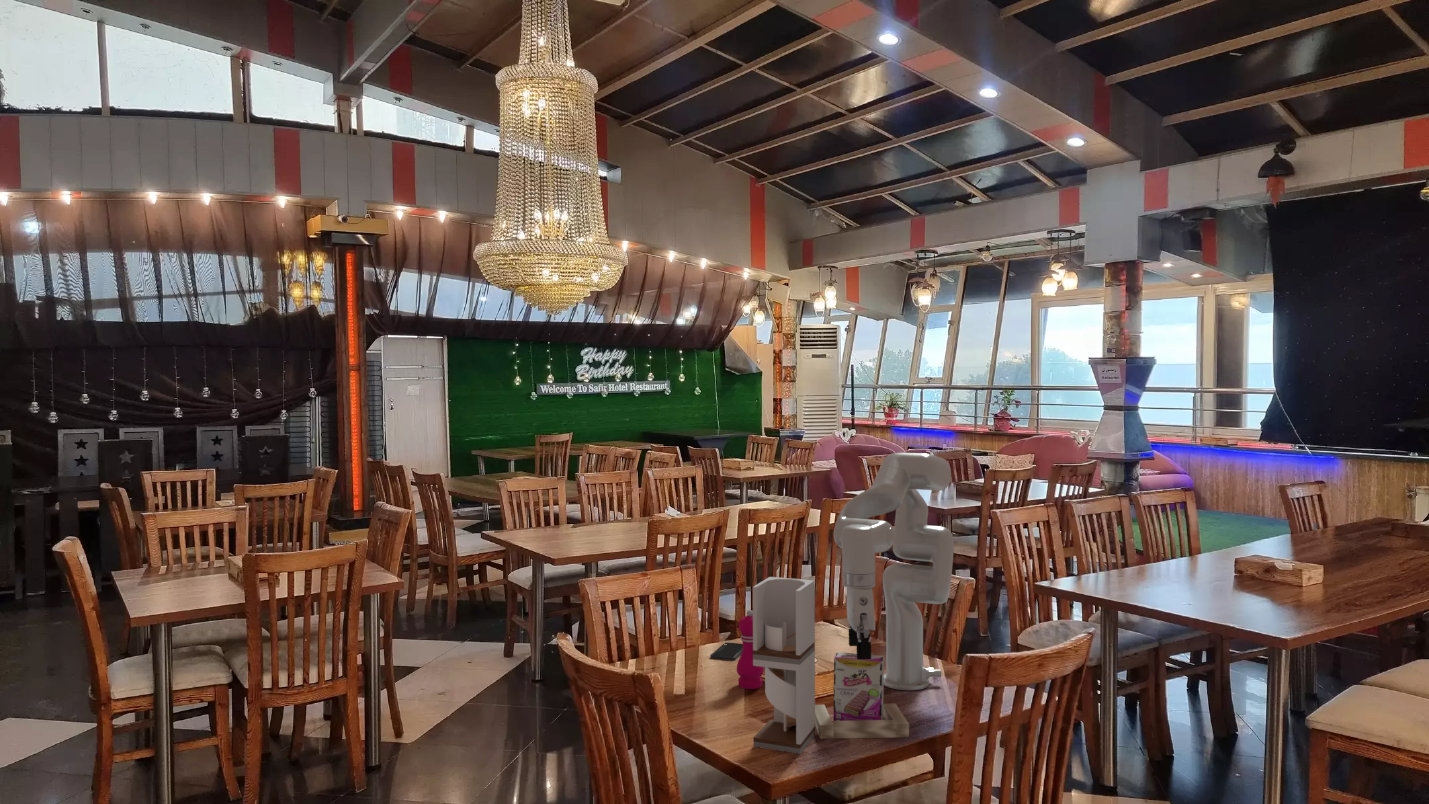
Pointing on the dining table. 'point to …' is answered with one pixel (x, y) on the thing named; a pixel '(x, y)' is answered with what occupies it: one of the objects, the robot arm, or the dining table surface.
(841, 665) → the candy bar box
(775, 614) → the white spiral tower
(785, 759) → the dining table surface
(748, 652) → the pepper mill
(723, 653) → the phone
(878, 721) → the notched board
